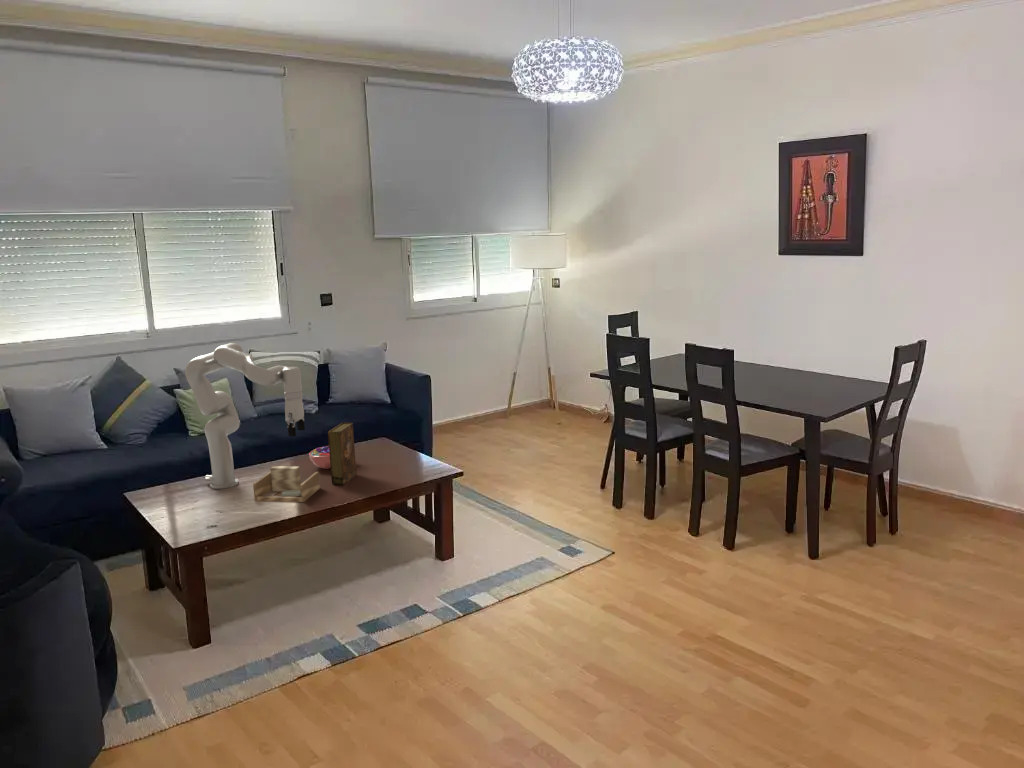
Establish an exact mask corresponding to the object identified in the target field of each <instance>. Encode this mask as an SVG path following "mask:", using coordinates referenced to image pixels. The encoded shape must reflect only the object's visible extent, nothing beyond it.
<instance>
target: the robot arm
mask: <svg viewBox="0 0 1024 768" xmlns="http://www.w3.org/2000/svg"><path fill="white" fill-rule="evenodd" d="M226 367H227V368H229V369H231V370H235V371H237V372H239V373H242V374H243V375H244V377H246V378H247V379H248V380H249V381H251V382H252V383H255V384H257V385H261V386H264V387H273V386H275V385H278V384H280V383H282V384H283V392H284V400H285V401H284V414H285V416H284V418H285V422H286V425H287V431H288V432H287V433H288V437H296V436H297V431H305V430H306V426H305V409H304V402H303V398H304V397H303V386H302V377H301V376H302V375H301V374H302V373H301V369H300V367H298V366H285V365H279V364H278V365H276V366H275V365H274V366H272V367H268V368H264V367H261V366H258V365H256V364H254V357H253V356H252V355H251V354H249V353H246V352H244V349H243V347H242V346H241V345H239V344H238V343H235V342H229V343H226V344H222V345H220V346H218V347H216V348H215V349H214V351H213V352H210V353H207V354H203V355H199V356H197V357H196V356H195V358H192V359H191V360H190V361H188V363H187V364H186V366H185V369H184V371H185V372H184V374H185V378H186V381H187V382H188V384H189V386H190V389H191V391H192V393H193V396H194V398H195V401H196V404H197V406H198V408H199V411H200V413H201V414H203V416H205V417H211V416H214V415H217V416H215V417H213V418H212V419H209V420H208V421H207V422H206V424H205V426H204V433H205V434H204V435H205V437H206V440H207V444H208V445H207V446H208V450H209V459H210V460H209V461H210V467H211V475H209V474H206V475H205V477H204V478H205V479H204V480H205V481H210V482H209V488H211V489H217V490H220V489H223V490H224V489H229V488H232V487H235V486H237V485H239V483H240V482H239V481H240V480H239V479H238V478H236V475H235V468H234V466H235V465H234V458H233V456H234V455H233V448H232V443H231V441H230V439H229V438H228V436H229V435H231V434H233V433H234V432H236V431H238V430H239V428H240V419H239V416H238V413H237V411H236V409H235V406H234V402H233V400H232V398H231V397H230V395H229V394H228V393H227V392H226V391H222V390H216V391H215V390H214V387H213V384H212V383H211V381H210V380H209V378H207V377H206V376H207V375H208V374H211V373H215V372H218V371H221V370H222V369H225V368H226ZM296 426H297V428H296ZM296 429H297V430H296Z"/></svg>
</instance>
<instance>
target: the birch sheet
mask: <svg viewBox="0 0 1024 768" xmlns="http://www.w3.org/2000/svg"><path fill="white" fill-rule="evenodd" d="M270 471H271V479H272V492H283V491H285V490H301V488H300V484H302V482H301V471H300V466H291V465H290V466H288V465H287V466H286V465H285V466H284V465H279V466H278V465H273V466H272V467H270Z"/></svg>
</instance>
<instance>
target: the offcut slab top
mask: <svg viewBox="0 0 1024 768" xmlns="http://www.w3.org/2000/svg"><path fill="white" fill-rule="evenodd" d="M281 492H282V493H281V494H282V496H281V497H301V490H285V491H281Z"/></svg>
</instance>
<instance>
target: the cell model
mask: <svg viewBox="0 0 1024 768" xmlns="http://www.w3.org/2000/svg"><path fill="white" fill-rule="evenodd" d="M308 456H309V460H310V462H311V463H312V464H314V466H316V467H318V468H321V469H325V470H327V469H331V466H330V453H329V445H325V446H321V447H316V448H315V449H313V450H311V451H310V452H309V453H308Z"/></svg>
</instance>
